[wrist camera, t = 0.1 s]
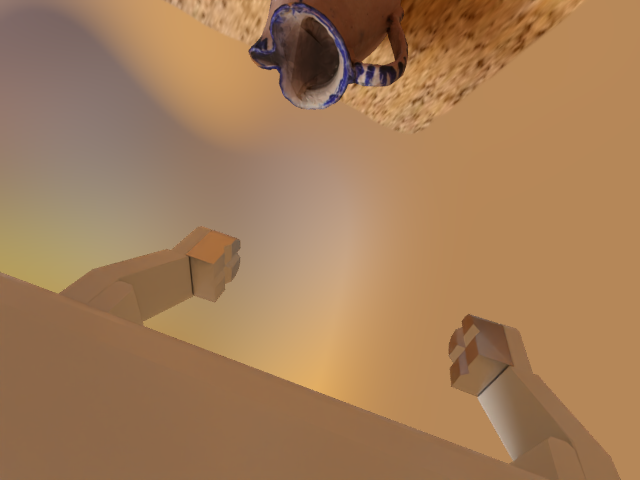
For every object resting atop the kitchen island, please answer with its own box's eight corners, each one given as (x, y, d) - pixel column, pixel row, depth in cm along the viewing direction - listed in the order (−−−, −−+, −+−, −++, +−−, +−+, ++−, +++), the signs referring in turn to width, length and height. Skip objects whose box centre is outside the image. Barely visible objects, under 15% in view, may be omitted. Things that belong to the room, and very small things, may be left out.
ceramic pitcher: (290, -108, 43) (204, -17, 33) (450, -126, 37) (406, -22, 27) (312, 27, 58) (258, 118, 48) (428, 30, 52) (394, 135, 42)
